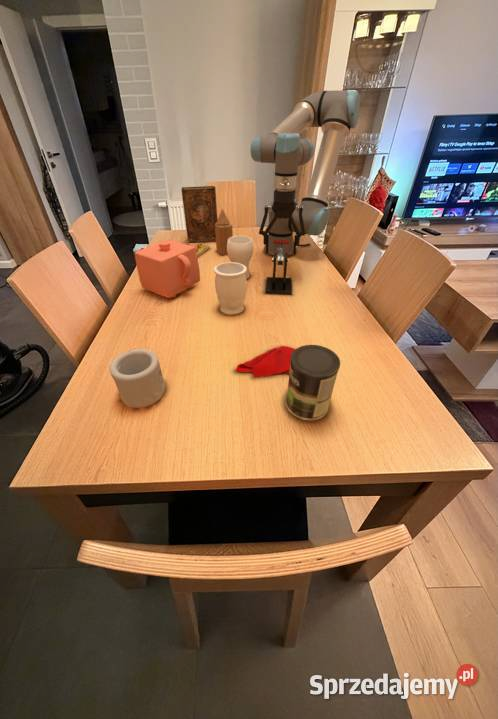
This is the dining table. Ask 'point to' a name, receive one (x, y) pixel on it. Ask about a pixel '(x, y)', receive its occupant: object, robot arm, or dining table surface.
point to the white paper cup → (231, 286)
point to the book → (200, 213)
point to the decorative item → (222, 233)
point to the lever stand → (279, 280)
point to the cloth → (269, 362)
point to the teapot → (168, 267)
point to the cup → (240, 251)
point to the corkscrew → (280, 256)
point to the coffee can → (311, 381)
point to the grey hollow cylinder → (138, 377)
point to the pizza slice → (200, 247)
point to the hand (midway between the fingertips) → (280, 253)
